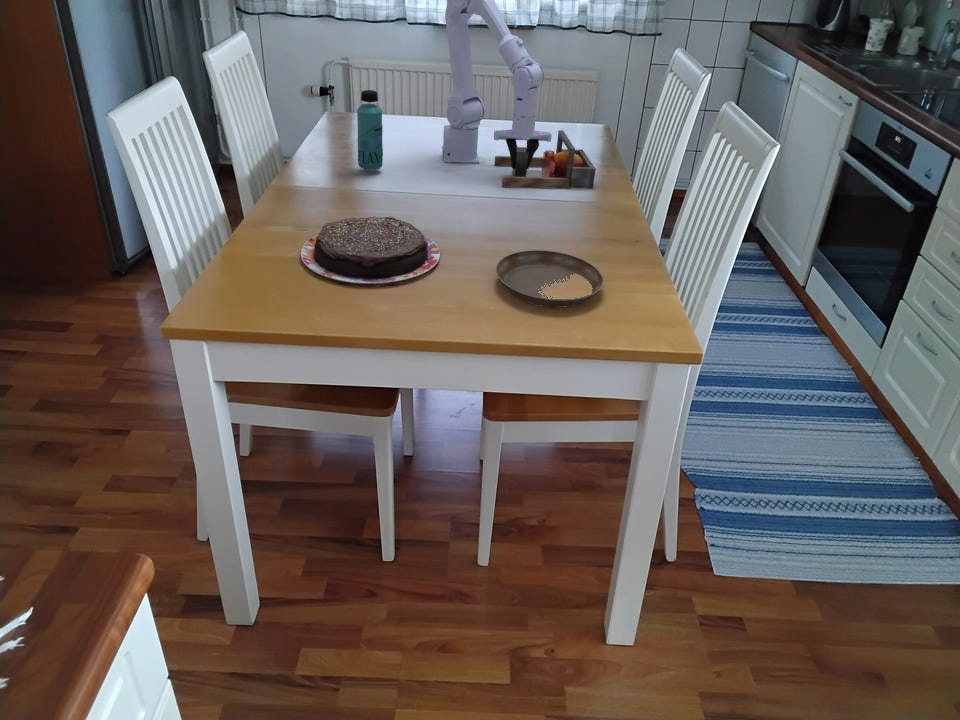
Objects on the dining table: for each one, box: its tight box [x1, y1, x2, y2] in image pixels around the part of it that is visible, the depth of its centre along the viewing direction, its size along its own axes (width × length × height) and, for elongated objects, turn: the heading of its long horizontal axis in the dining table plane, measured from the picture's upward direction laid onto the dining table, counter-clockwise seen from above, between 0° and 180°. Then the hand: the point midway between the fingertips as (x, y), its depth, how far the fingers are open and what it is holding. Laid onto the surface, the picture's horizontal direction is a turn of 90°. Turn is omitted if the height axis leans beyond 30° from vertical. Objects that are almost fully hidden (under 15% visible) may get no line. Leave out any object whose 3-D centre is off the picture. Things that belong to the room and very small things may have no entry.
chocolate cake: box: [300, 216, 441, 288], centre depth 150 cm, size 28×28×7 cm
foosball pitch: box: [493, 129, 597, 189], centre depth 195 cm, size 24×17×10 cm
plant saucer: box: [495, 249, 604, 308], centre depth 144 cm, size 21×21×3 cm
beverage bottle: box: [356, 89, 384, 171], centre depth 187 cm, size 6×7×20 cm
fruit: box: [553, 151, 583, 178], centre depth 196 cm, size 8×8×8 cm
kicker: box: [511, 146, 556, 178], centre depth 195 cm, size 10×10×7 cm
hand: (519, 167), depth 195 cm, fingers closed on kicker, 3 cm apart
